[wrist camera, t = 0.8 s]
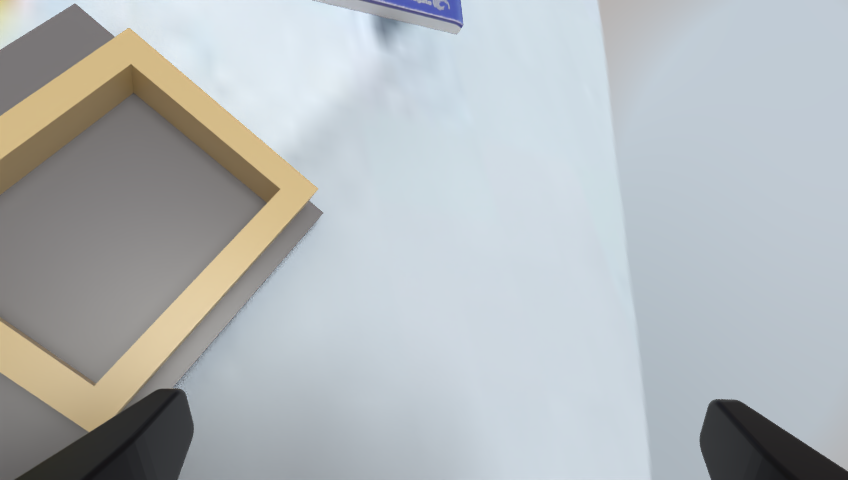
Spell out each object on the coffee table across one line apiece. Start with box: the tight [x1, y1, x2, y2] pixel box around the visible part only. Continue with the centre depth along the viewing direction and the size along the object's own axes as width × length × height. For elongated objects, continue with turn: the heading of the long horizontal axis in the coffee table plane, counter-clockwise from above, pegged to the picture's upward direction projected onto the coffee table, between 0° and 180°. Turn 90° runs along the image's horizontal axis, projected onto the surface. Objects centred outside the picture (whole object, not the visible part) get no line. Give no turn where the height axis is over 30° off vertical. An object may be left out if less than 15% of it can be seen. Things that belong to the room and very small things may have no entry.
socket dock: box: [0, 4, 323, 480], centre depth 17 cm, size 15×12×3 cm
